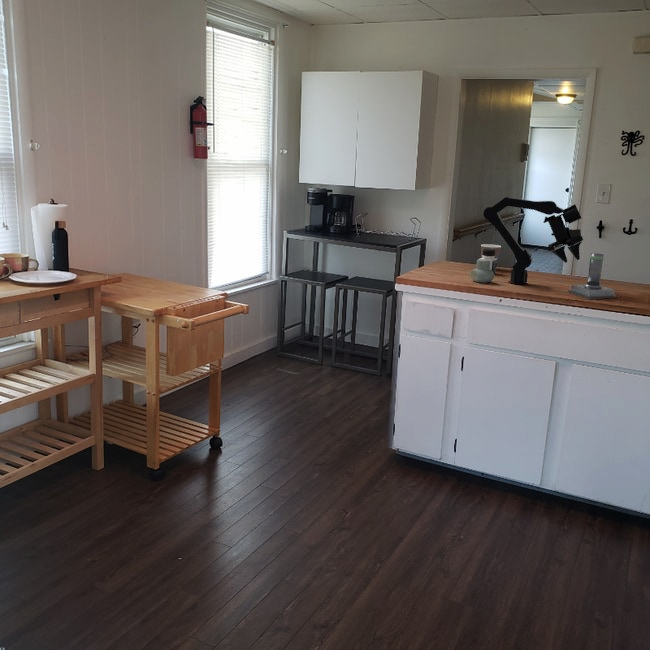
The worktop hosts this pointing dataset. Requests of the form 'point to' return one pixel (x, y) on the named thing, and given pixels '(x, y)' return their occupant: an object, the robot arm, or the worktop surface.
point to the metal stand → (592, 292)
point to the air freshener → (482, 272)
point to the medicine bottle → (490, 258)
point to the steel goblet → (595, 271)
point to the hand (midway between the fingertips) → (572, 261)
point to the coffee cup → (490, 246)
